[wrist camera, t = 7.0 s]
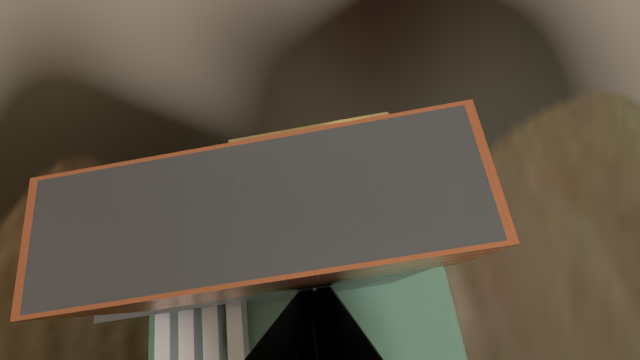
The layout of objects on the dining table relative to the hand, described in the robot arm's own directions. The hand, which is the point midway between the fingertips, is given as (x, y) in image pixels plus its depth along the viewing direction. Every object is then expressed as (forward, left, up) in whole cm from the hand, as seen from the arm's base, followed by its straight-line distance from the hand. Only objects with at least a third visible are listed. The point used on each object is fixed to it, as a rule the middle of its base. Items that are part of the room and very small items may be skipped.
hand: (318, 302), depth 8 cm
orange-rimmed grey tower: (+6, 0, -8) cm, 9 cm away
